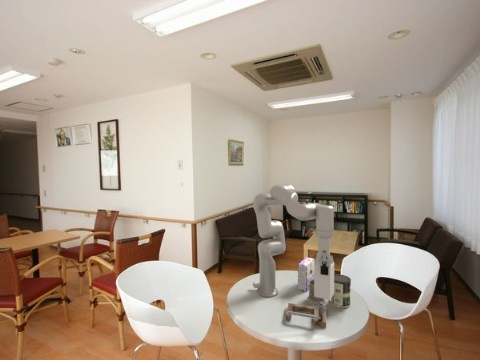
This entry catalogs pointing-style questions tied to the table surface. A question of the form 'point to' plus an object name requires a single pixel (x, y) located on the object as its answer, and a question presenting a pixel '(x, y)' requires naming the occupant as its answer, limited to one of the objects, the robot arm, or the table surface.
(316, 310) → the wooden frame
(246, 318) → the table surface
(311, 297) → the mug
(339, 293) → the coffee can
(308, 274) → the candy box
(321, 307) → the hook post
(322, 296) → the milk carton
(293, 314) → the rail
